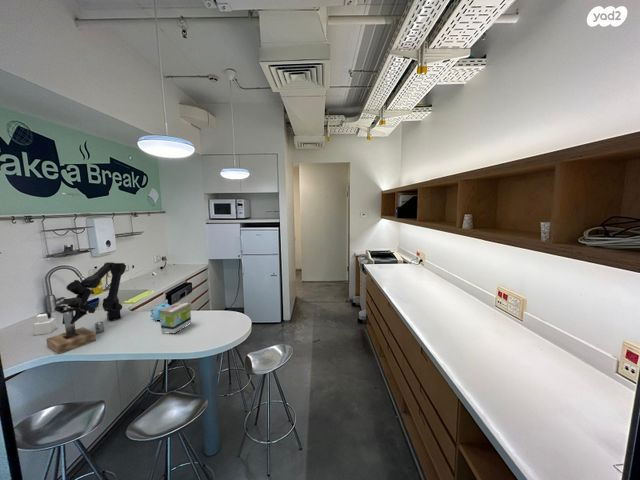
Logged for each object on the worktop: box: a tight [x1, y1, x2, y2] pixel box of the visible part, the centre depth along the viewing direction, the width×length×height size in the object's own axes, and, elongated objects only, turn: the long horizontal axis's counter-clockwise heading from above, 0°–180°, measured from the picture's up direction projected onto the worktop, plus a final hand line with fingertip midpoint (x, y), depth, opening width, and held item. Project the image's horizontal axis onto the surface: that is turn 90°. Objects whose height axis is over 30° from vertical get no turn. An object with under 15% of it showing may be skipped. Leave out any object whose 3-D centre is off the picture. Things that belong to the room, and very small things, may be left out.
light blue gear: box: [150, 299, 171, 321], centre depth 181 cm, size 15×15×10 cm
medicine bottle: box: [33, 311, 58, 336], centre depth 160 cm, size 7×7×12 cm
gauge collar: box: [46, 326, 97, 355], centre depth 147 cm, size 16×16×4 cm
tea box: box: [160, 302, 192, 333], centre depth 165 cm, size 15×10×15 cm
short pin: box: [94, 321, 105, 335], centre depth 160 cm, size 4×4×6 cm
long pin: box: [62, 311, 76, 336], centre depth 146 cm, size 4×4×13 cm
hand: (67, 323), depth 145 cm, fingers closed on long pin, 4 cm apart
